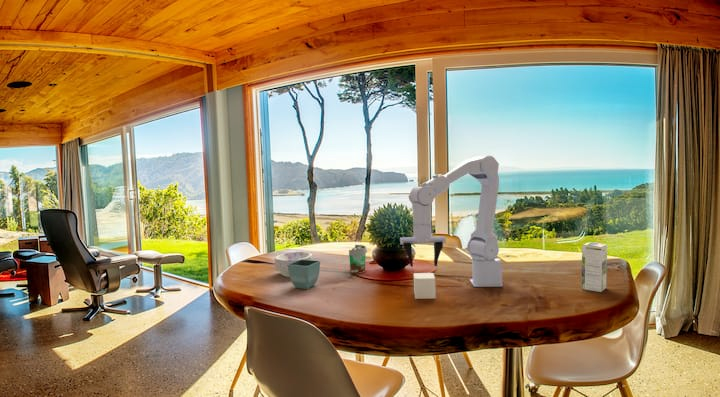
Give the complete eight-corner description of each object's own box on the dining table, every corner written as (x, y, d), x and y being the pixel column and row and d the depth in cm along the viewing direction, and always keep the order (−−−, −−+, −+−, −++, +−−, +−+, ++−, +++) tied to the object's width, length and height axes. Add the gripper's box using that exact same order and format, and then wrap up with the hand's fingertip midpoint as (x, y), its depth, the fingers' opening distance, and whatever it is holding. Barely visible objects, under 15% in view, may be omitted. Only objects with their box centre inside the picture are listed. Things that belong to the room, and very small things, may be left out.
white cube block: (433, 292, 124) (433, 272, 124) (435, 298, 118) (435, 278, 117) (414, 292, 125) (413, 273, 124) (415, 298, 118) (414, 278, 118)
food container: (365, 275, 149) (363, 250, 148) (349, 275, 150) (348, 250, 149) (370, 267, 161) (369, 244, 160) (356, 267, 162) (355, 244, 161)
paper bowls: (276, 281, 146) (274, 260, 146) (275, 271, 161) (274, 253, 160) (315, 277, 150) (314, 257, 149) (311, 268, 164) (310, 250, 164)
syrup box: (586, 285, 125) (586, 241, 124) (607, 288, 120) (607, 243, 120) (581, 289, 121) (581, 244, 120) (602, 292, 116) (602, 246, 116)
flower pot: (322, 284, 139) (320, 260, 138) (309, 291, 131) (307, 266, 130) (301, 282, 142) (300, 259, 142) (288, 289, 134) (286, 264, 134)
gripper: (399, 226, 118) (401, 269, 119) (446, 224, 116) (448, 268, 117) (399, 223, 125) (400, 263, 126) (444, 222, 123) (445, 263, 124)
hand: (423, 265), depth 122 cm, fingers open, 7 cm apart
